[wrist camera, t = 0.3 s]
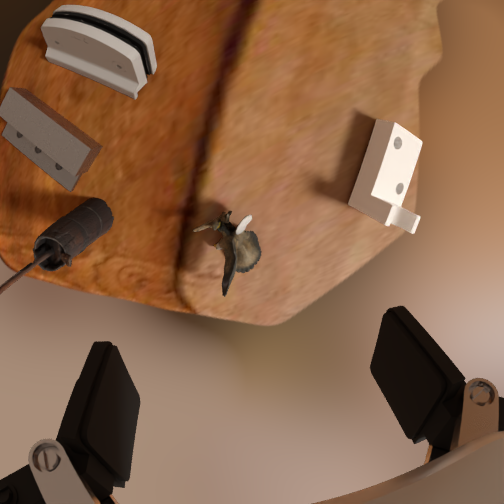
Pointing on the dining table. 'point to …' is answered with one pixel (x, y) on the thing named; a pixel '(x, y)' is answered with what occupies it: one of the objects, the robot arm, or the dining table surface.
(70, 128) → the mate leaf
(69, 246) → the butter churn
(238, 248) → the brown animal figurine
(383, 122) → the bracket
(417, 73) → the dining table surface
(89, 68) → the hinge
